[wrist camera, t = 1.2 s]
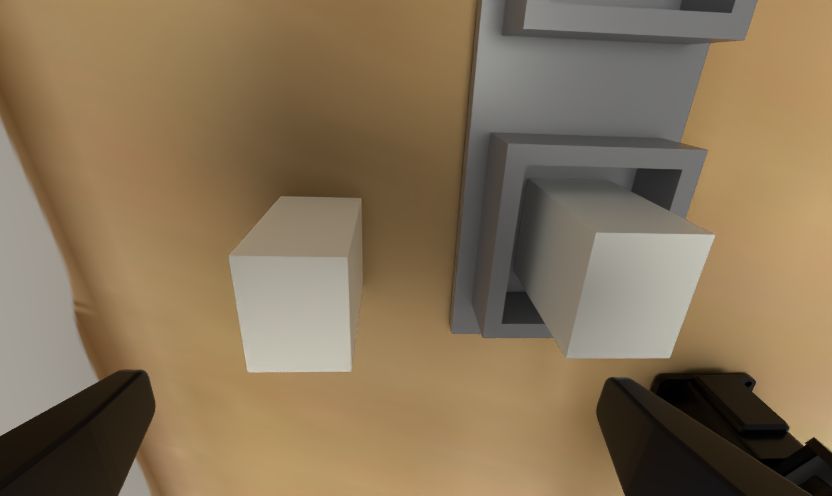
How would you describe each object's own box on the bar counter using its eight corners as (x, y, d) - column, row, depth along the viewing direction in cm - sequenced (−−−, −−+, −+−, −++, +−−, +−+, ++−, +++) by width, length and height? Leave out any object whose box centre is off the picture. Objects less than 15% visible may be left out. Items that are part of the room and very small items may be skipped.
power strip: (613, 323, 24) (653, 369, 20) (449, 323, 24) (459, 370, 20) (797, -317, 14) (946, -458, 10) (508, -349, 13) (553, -513, 9)
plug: (363, 284, 22) (351, 371, 16) (289, 284, 22) (247, 372, 16) (361, 198, 20) (347, 257, 14) (280, 196, 20) (228, 255, 14)
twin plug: (587, 272, 21) (669, 357, 15) (513, 271, 21) (565, 358, 15) (609, 180, 19) (715, 234, 13) (528, 177, 19) (595, 232, 13)
